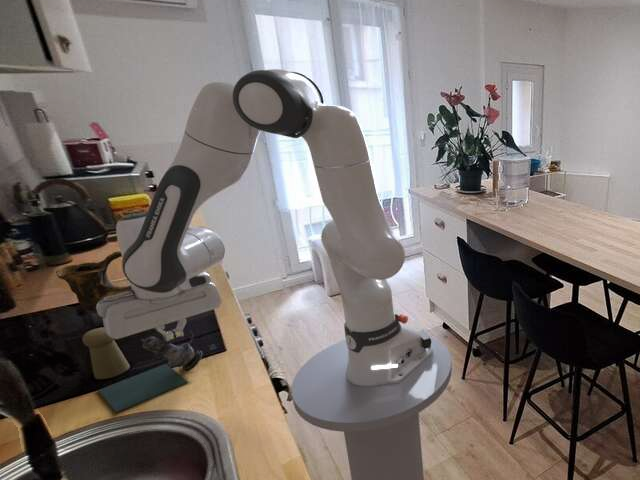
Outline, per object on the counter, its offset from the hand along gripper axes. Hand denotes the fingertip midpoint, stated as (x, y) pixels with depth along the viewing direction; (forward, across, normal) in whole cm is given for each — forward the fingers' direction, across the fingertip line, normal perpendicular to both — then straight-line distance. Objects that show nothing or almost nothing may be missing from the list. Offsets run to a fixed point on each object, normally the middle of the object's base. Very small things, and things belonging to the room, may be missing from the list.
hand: (174, 338), depth 95 cm
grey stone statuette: (+7, +2, -1) cm, 8 cm away
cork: (+9, -9, +12) cm, 18 cm away
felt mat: (+9, -7, -1) cm, 12 cm away
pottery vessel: (+10, +4, +41) cm, 43 cm away
